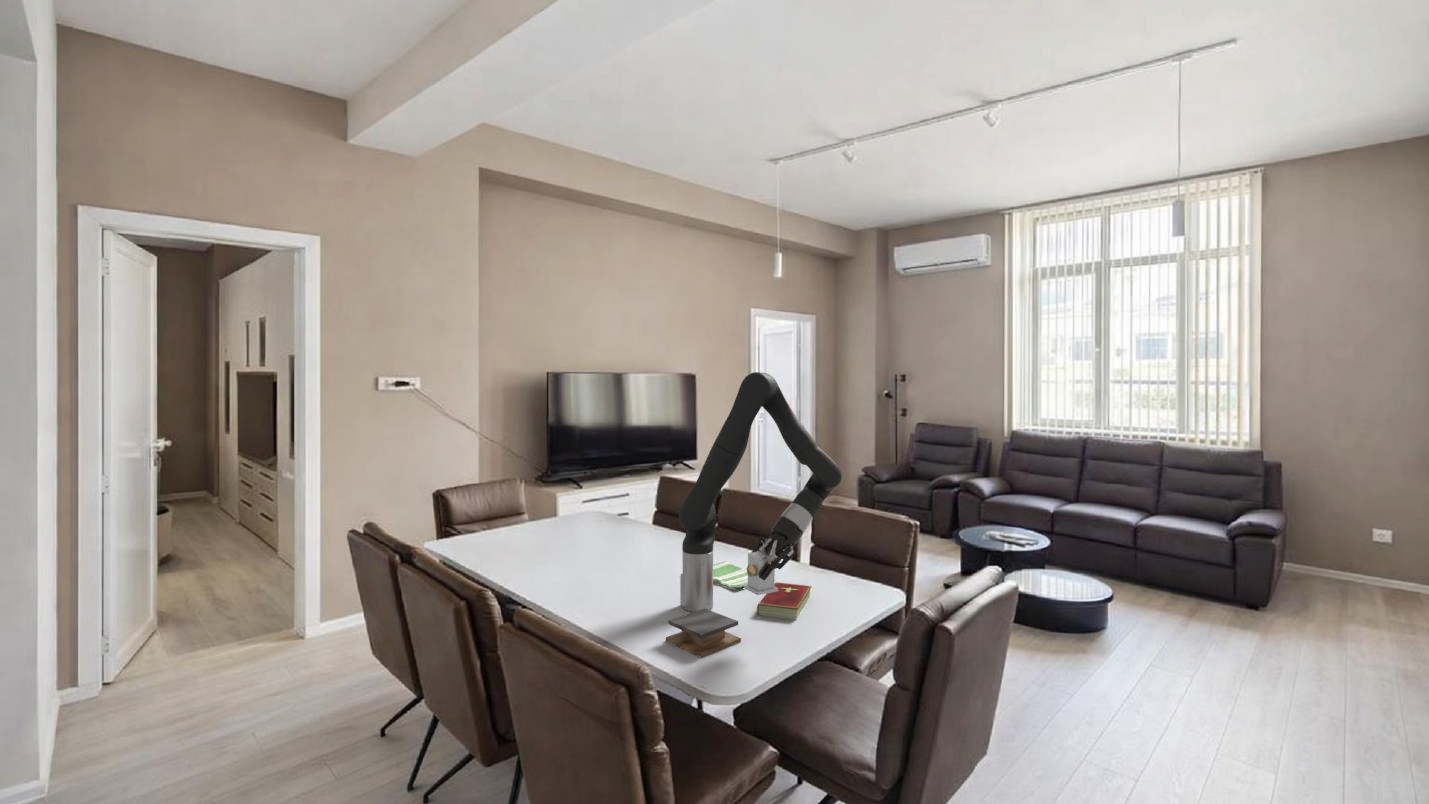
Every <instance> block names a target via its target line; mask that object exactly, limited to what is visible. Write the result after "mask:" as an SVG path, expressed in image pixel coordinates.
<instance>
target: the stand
mask: <svg viewBox="0 0 1429 804" xmlns="http://www.w3.org/2000/svg"><path fill="white" fill-rule="evenodd" d="M667 621H668V622H667V623H668V625H669V626H671V627H674V628H676V629H678V630H681V631H680V632H677V633H674V634H672V635H668V636H665V641H666V642H667V641H668V642H667V643H669V642H670V644H671V643H672V645H673V644H675V645H677V646H676V647H677V648H680V647H682V648H683V650H684V649H685V651H686V650H687V651H686V652H688V651H689V652H688V653H690V652H692V653H691V654H693V653H694V654H693V655H695V656H697V655H698V656H697V657H699V656H700V657H699V658H704V657H707V656H710V655H712V654H714V653H716V652H720V651H722V650H724V649H727V648H729V647H732V646H735V645H736V644H739V643H741V642H742V638H741V637H739V636H737V635H734V634H732V633H729V632H727V631H726V630H729V629H732V628H734V627H737V626H738V625H739V621H738V620H736V619H733V618H732V617H728V616H726V615H722V614H720V613H718V612H715V611H713V610H711V609H710V610H708V609H705V608H704V609H701V610H698V611H695V612H692V611H691V612H690V613H686V614H684V615H680V616H678V617H674V618H671V619H669V620H667ZM675 645H674V646H675ZM682 648H681V649H682ZM711 653H712V654H711ZM706 655H707V656H706Z"/></svg>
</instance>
